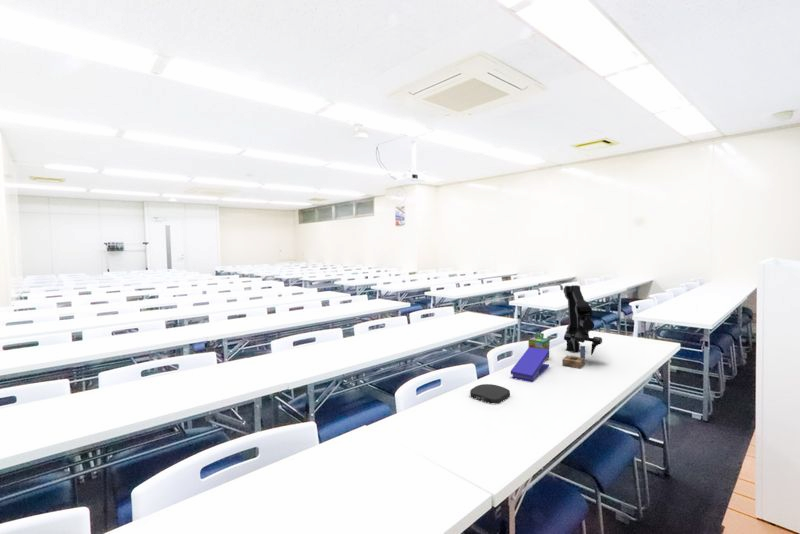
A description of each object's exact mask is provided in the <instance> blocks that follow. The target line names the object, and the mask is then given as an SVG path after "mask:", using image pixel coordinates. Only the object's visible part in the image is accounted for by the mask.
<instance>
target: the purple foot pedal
mask: <svg viewBox="0 0 800 534" xmlns="http://www.w3.org/2000/svg"><path fill="white" fill-rule="evenodd" d="M548 354H549V355H550V349H549V350H545V349H538V348H532V347H529V348H528V347H527V349H526V350H525V352H524V353H523V354H522V356H521V357H520V358H519V360H518V361H517V362H516V363H515V365H514V366H513V367H512V369H511V370H510V374H511V375H512V379H515V378H517V380H520V379H522V380H523V381H527V382H530V383H531V382H532V383H533V382H535V380H537V378H538V377H540V376H541V375H542V374H543V373H544V372H545V371H546V370H547V369H548V368H549V366H550V364H548V363H545V361H546V358H547V356H548ZM522 380H521V381H522Z"/></svg>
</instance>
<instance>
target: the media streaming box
mask: <svg viewBox="0 0 800 534" xmlns="http://www.w3.org/2000/svg"><path fill="white" fill-rule="evenodd" d="M469 395H471V396H470V397H471V398H472V397H473V398H472V399H475V398H477V399H476V400H478V399H479V400H478V401H481V400H482V401H481V402H484V401H486V402H485V403H487V402H489V403H488V404H491V403H497V404H500V403H502V402H504V401H506V400H507V399H509V398H510V397H511V391H510V390H509V389H508V388H507V387H505V386H500V385H497V384H492V383H490V384H488V383H485V384H479V385H476V386H474V387H473V388H471V389H470V391H469ZM508 397H509V398H508ZM505 399H506V400H505ZM503 400H504V401H503ZM501 401H502V402H501Z"/></svg>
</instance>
